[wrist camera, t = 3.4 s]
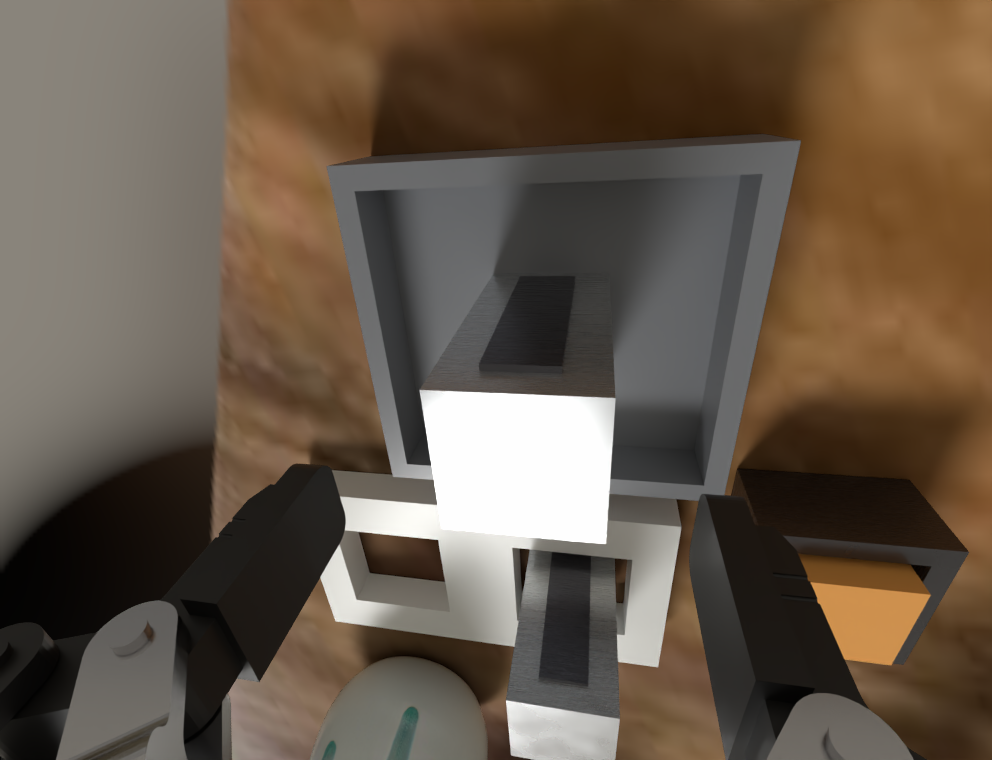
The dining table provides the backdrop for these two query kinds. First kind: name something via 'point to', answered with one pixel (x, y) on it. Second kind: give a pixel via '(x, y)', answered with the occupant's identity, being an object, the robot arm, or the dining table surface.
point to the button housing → (858, 526)
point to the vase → (403, 715)
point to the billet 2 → (565, 660)
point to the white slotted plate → (491, 567)
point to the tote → (579, 249)
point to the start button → (867, 604)
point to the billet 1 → (526, 410)
